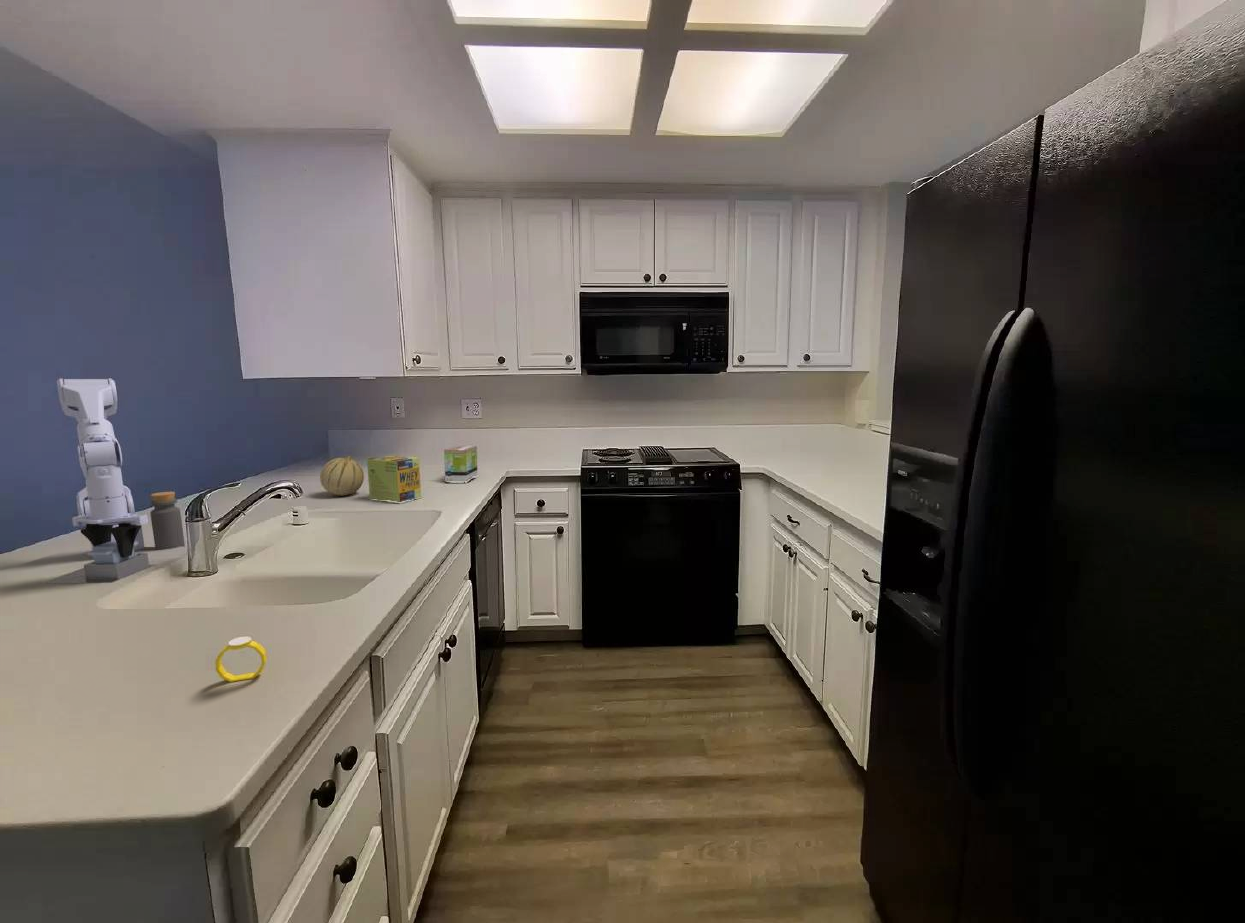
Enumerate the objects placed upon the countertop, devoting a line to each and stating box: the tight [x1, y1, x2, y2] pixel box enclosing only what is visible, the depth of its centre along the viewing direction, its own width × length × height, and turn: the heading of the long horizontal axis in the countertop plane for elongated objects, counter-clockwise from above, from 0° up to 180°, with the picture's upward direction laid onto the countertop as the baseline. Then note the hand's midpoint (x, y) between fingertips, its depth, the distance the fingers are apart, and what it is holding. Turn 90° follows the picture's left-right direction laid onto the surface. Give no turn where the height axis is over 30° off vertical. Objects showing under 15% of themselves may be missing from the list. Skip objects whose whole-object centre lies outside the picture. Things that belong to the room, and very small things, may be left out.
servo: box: [87, 540, 138, 564], centre depth 117 cm, size 8×4×5 cm, turn 1°
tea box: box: [443, 445, 479, 482], centre depth 231 cm, size 15×10×15 cm
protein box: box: [366, 455, 422, 502], centre depth 195 cm, size 10×15×16 cm
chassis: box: [39, 552, 155, 585], centre depth 118 cm, size 11×15×4 cm
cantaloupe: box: [319, 455, 365, 496], centre depth 202 cm, size 15×15×15 cm
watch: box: [215, 636, 268, 683], centre depth 77 cm, size 6×3×6 cm, turn 110°
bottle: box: [150, 491, 186, 551], centre depth 137 cm, size 6×6×15 cm
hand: (116, 556), depth 117 cm, fingers closed on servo, 4 cm apart
